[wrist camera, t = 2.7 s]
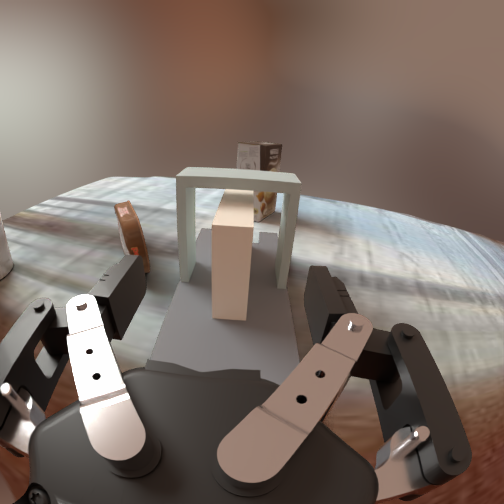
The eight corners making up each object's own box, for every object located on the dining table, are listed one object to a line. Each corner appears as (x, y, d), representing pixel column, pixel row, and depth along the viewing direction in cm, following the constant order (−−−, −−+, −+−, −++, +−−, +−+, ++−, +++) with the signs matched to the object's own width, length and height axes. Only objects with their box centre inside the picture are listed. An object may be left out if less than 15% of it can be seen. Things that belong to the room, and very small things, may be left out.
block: (212, 318, 27) (211, 224, 22) (226, 244, 42) (229, 179, 37) (246, 320, 27) (253, 227, 22) (248, 245, 42) (253, 181, 37)
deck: (126, 470, 13) (117, 463, 12) (201, 238, 47) (201, 228, 46) (308, 487, 13) (315, 481, 12) (275, 243, 48) (277, 233, 47)
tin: (154, 283, 34) (147, 224, 31) (132, 288, 33) (122, 229, 29) (134, 239, 45) (130, 194, 42) (117, 243, 44) (112, 197, 40)
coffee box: (259, 222, 56) (266, 145, 49) (232, 216, 58) (236, 142, 51) (275, 211, 64) (282, 143, 56) (251, 205, 66) (256, 140, 58)
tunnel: (180, 281, 32) (176, 175, 26) (188, 261, 36) (187, 167, 30) (285, 288, 32) (301, 183, 26) (282, 267, 37) (294, 173, 31)
